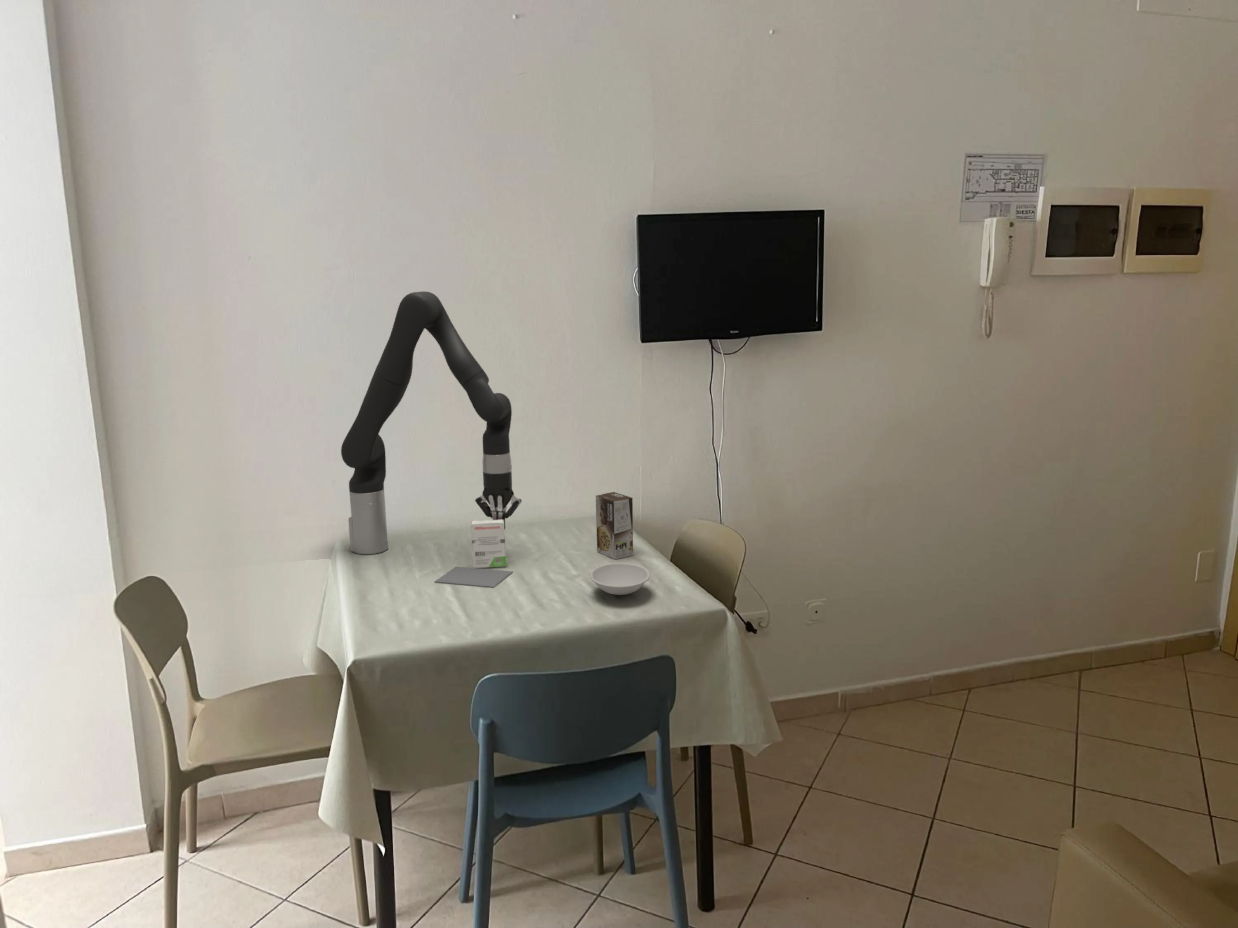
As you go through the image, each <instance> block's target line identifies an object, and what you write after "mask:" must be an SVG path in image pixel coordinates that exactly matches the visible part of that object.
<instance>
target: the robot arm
mask: <svg viewBox="0 0 1238 928" xmlns="http://www.w3.org/2000/svg"><path fill="white" fill-rule="evenodd" d="M447 312H448V311H446V309H445V307H444V305H443V303H442V301H441V300H440V298H439V297H438V296H437V295H436V294H434V293H432V292H429V291H413V292H410V293H408V294H406V295H405V296H404V297H403V298H402V299H401V301H400V303H399V305H398V307H397V310H396V314H395V318H394V322H393V325H392V328H391V331H390V335H389V337H388V340H387V342H386V344H385V346H384V349H383V351H382V354H381V357H380V359H379V360H378V363H377V365H376V367H375V369H374V372H373V375H372V377H371V380H370V381H369V385H368V388H367V390H366V393H365V395H364V397H363V400H362V403H361V405H360V408H359V410H358V413H357V415H356V417H355V420H354V421H353V422H352V425H351V427H350V428H349V430H348V432H347V434H346V436H345V437H344V439H343V442H342V444H341V448H340V454H341V455H340V456H341V458H342V461H343V462H344V463H345V465H346V466H347V467H349V468H351V469H354V471H353V474H352V476H351V478H350V479H349V481H348V491H349V503H350V505H349V506H350V517H349V518H348V520H347V521H348V532H349V534H348V535H349V546H350V547H349V548H350V552H352V553H353V552H354V553H356V554H357V555H358V554H359V555H373V554H374V555H375V554H379V553H383V552H386V551H387V550H388V549H389V546H388V526H387V512H386V499H385V483H384V482H385V480H386V475H387V467H386V466H387V465H386V463H387V461H386V459H387V458H386V457H387V456H386V447H385V443H384V440H383V438H382V437H381V435H380V434H379V433H380V431H381V429H382V427H383V426H384V424H385V423H386V421H387V420H388V418H390V416H391V415H392V414H393V413H394V411H395V409H396V408H397V407H398V406H399V404H400V403H401V401H402V399H403V397H404V395H405V394H406V391H407V388H408V386H409V384H410V381H411V378H412V374H413V365H414V353H415V349H416V347H417V343H418V342H419V341H420V338H421V335H422V334H423V332H424V330H427V332H428V333H429V334H430V335H431V337H433V338H434V339H435V342H437V345H438V346H439V348H440V350H441V352H442V354H443V357H444V359H445V361H446V365H447V366H448V369H449V370H450V372H451V373H452V375H453V376H454V378H455V379H456V380H457V382H458V383H459V385H460V386H461V387H462V389H463V390H464V391H465V392H466V394H467V397H468V399H469V402H470V403H471V405H472V408H473V409H474V410H475V413H476V414H477V415H478V416H479V418H480V419H482V420H483V421H484V422H486V429H485V431H484V433H483V434H482V479H483V480H482V481H483V482H482V483H483V484H482V485H483V489H482V494H481V495H480V496H478V497H477V498H476V499H475V500H474V502H475V503H476V505H478V507H479V508H480V509H481V511H482V512H483V514H484V515H485V516H486V517H487V518H491V520H504V531H506V519H508V518H509V517H512V515H513V514H514V512H515V511H516V510H517V509H518V508H519V506H520V505H521V503H522V499H521V498H517V497H516V496H515V493H514V491H513V478H512V477H513V476H512V467H513V466H512V458H511V451H510V448H511V446H510V430H511V424H512V416H513V415H512V414H513V413H512V412H513V411H512V410H513V409H512V403H511V400H510V399H509V398H508V396H507V395H505V394H504V393H501V392H496V393H494V391H493V389H492V388H491V387H490V384H489V382H490V379H489V376H488V375H487V373H486V372H485V370H484V369H483V368H482V366H481V365H480V363H479V362H478V361H477V359H476V358H475V357H474V355H473V354H472V353H471V351H470V350H469V348H468V347H467V345H466V343H465V342H464V341H463V339H462V338H461V336H460V334H459V333H458V331H457V330H456V328H455V326H454V324H453V322H452V320H451V318H450V316H449V315H448V314H449V313H447ZM509 503H510V507H509V508H508V505H509ZM507 509H508V510H507Z"/></svg>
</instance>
